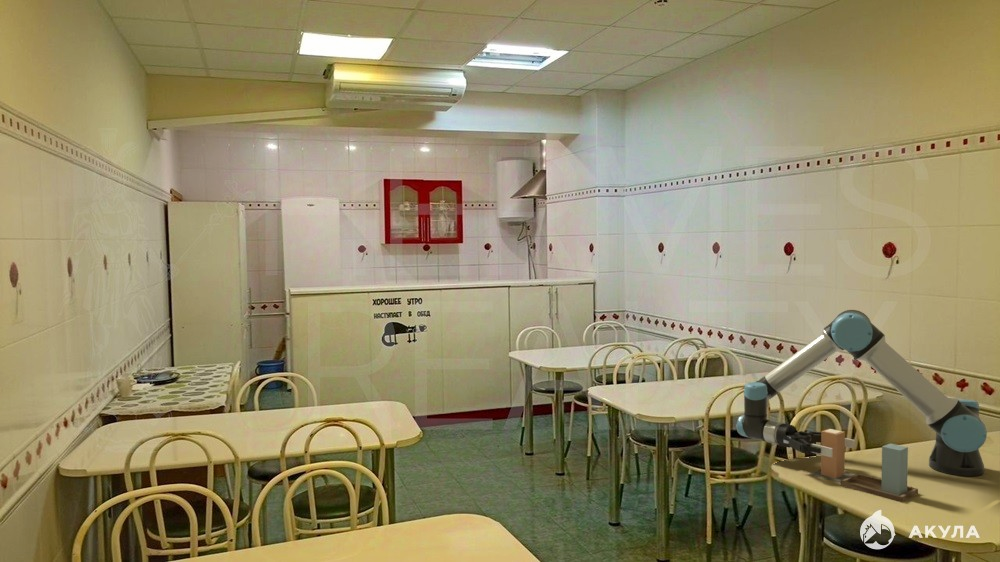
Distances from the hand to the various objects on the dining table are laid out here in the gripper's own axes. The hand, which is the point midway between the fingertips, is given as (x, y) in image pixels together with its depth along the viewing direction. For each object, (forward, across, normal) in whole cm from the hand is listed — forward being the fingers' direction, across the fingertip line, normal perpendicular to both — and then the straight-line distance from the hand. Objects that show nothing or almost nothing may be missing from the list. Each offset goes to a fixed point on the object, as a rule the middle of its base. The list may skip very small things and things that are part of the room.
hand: (843, 448), depth 220 cm
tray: (+12, +2, -10) cm, 15 cm away
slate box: (+16, +2, -9) cm, 19 cm away
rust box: (-3, 0, -9) cm, 10 cm away
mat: (-3, 0, -10) cm, 10 cm away
